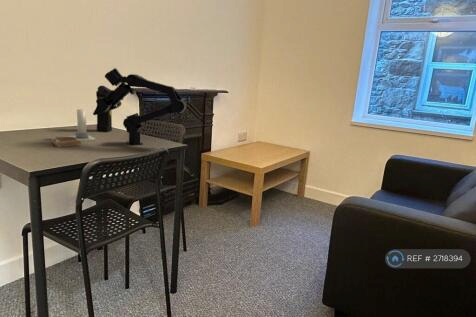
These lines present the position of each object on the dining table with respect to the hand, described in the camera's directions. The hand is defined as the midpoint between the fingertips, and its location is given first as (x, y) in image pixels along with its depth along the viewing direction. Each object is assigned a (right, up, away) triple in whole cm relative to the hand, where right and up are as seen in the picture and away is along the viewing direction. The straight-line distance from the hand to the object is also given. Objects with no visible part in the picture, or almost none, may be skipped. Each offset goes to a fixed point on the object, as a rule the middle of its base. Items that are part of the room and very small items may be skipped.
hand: (97, 113), depth 173 cm
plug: (-9, -12, +3) cm, 15 cm away
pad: (-9, -12, +3) cm, 16 cm away
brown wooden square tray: (-11, -16, -10) cm, 22 cm away
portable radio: (-7, -7, +28) cm, 30 cm away
